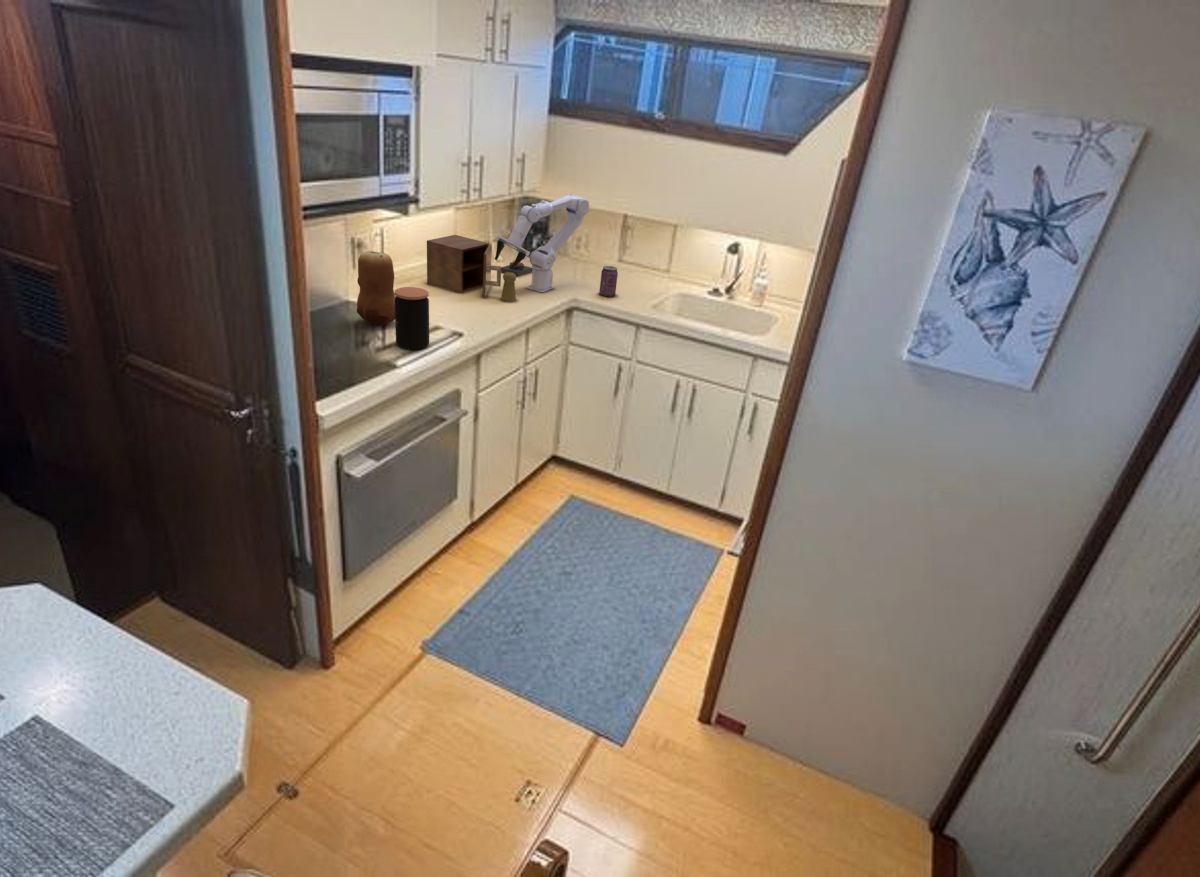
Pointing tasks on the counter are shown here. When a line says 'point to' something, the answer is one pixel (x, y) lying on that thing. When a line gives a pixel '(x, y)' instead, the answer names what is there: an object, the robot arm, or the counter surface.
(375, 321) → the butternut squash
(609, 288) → the beverage can
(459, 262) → the cupboard
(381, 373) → the counter surface
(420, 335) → the coffee jar
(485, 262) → the door
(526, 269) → the switch block
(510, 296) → the pepper shaker
